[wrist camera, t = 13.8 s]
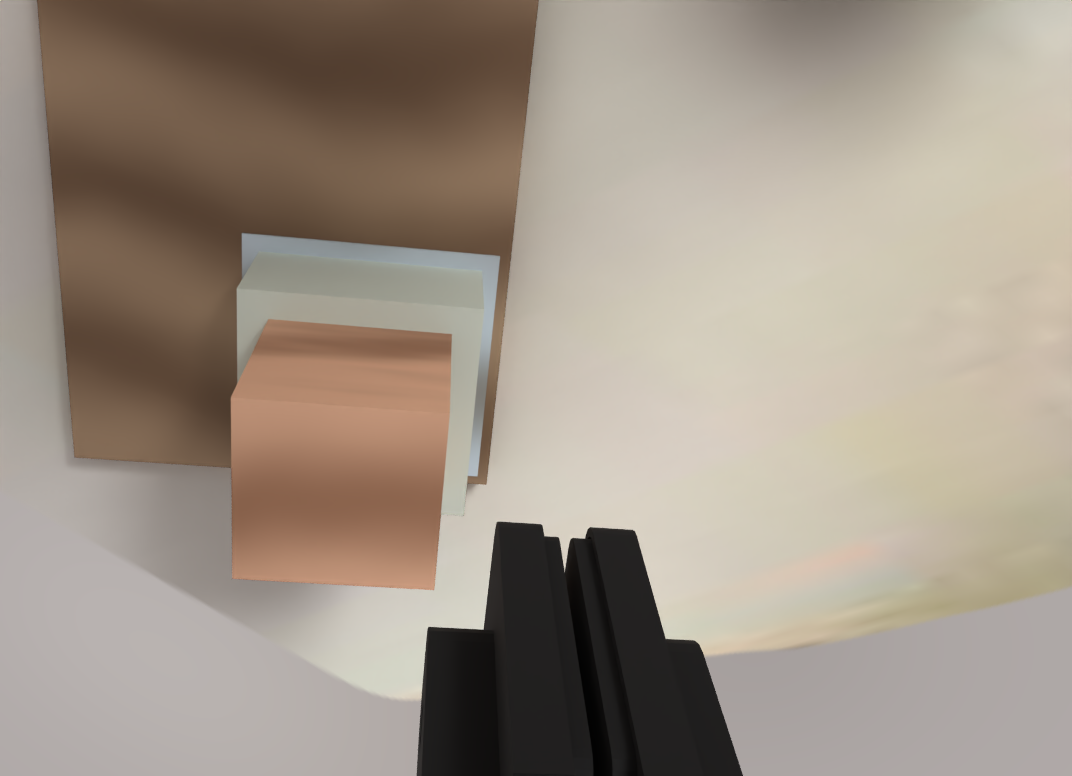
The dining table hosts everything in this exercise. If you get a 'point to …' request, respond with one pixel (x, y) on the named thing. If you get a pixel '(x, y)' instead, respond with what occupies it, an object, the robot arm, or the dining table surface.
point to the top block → (340, 455)
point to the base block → (377, 323)
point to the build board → (264, 183)
